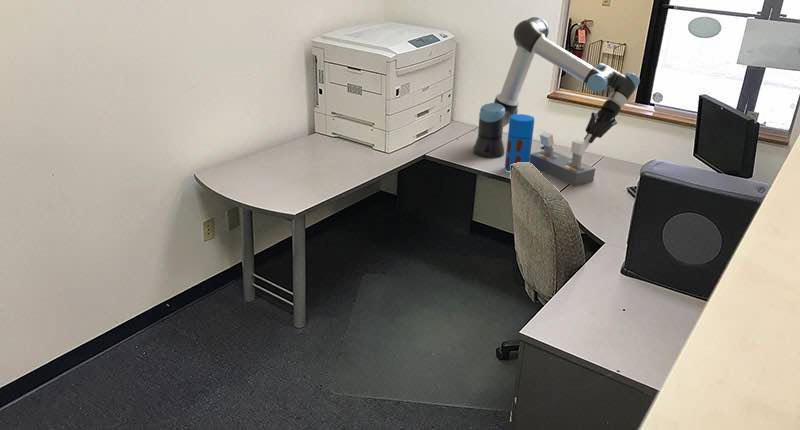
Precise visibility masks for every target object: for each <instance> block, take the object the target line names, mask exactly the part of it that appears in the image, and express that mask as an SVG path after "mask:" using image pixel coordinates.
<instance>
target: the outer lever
mask: <svg viewBox="0 0 800 430" xmlns="http://www.w3.org/2000/svg"><path fill="white" fill-rule="evenodd" d="M585 145H586V143H584V142H583V141H582V140H578V139H575V140H572V141H571V148H570V152H571V153H572V157H571V159H572V163H571V165H574V166H576V167H580V166H581V163H582V157H583V155H585V152H586V150H585Z"/></svg>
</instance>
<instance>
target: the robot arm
mask: <svg viewBox="0 0 800 430" xmlns="http://www.w3.org/2000/svg"><path fill="white" fill-rule="evenodd" d="M549 33H550V27H549V24H548V23H547V21H546V20H545V19H544V18H542V17H538V16H535V17H534V16H532V17H530V18H527V19H525V20H522V21H520V22H519V23H518V24H516V26H515V28H514V30H513V38H514V41H515V46H516V50H515V53H514V56H513V58H512V60H511V64H510V67H509V69H508V71H507V72H508V73H507V75H506V78H505V80H504V83H503V86H502V89H501V91H500V93H499V94H498V93H497V95H496V96H495V99H494V100H493V101H494V102H489V103H485V104H483V105H482V106H481V107H480V109H479V113H478V114H479V115H478V116H479V117H478V128H477V129H478V130H477V131H478V132H477V138H476V141H475V143H474V145H473V147H472V148H473V149H472V153H473V154H474V155H476V156H478V157H481V158H485V159H498V158H501V157H503V156H504V155H505V147H504V142H503V130H504V127H506V126H508V125H509V122H510V117H511V116H512V115H515V114H519V113H518V111H519V110H518V107H519V105H520V104H519V103H520V101H518V100H519V99H518V98H519V95H520V93H521V90H522V88H523V85H524V82H525V80H526V77H527V75H528V72H529V70H530V67H531V64H532V62H533V59H534V57H535V54H536V55H538V56H540V57H541V58H542V59H544V60H546V61H548V62H550V63H551V64H552V65H554V66H556V67H557V68H560V69H561V70H563V71H564V72H566V73H567V74H569V75H571V76H572V77H574V78H575V79H577V80H579V81H580V82H582V83H584V84H585V85H587V88H588V89H589V90H590V91H591V92H594V93H597V92H601V91H603V90H605V89H606V88H607V87H608V88H609V89H610V90H612V92H611V93H610V94H609V96H608V97H607V98H606V100H605V101H604V103H603V104H602V105H601V109H600V110H598V111H597V112H596V113H595V112H593V111H592V112H591V116H590V118H589V121H588V123H587V126H586V128H585V133H586V135H585V136H584V138H583V141H582V142H584V143H586V145H585V151H586V150H587V149H588V148H589V146H590V144H593V142H594V141H595V139H597V138H599V139H601V138H602V137H603V136H604V135H605V134H606V133H607V132H608V131H610V130H611V128H612V127H614V126H616V125H617V124H618V122H617V120H616V117H617V116H618V114H619V113H620V112H621V111H622V110H621V109H623V108H624V106H625V105H626V103H627V101H629V99H630V98H631V96H632V95H633V94H634V92H635V91H636V90H637V88H638V86H639V85H640V82H641V79H640V77H639V76H638V75H637V74H635V73H633V72H630V71H628V72H626V73H624V74H623V73H621V72H619V71H617V70H616V69H615V68H612V67H610V66H609V65H608V64H604V63H603V62H599V63H598V64H597V65H596V67H594V66H592V65H591V64H590V63H587V62H586V61H585V60H583V59H581V58H579V57H577V55H574V54H573V53H571V52H569V51H568V50H566V49H565V48H563V47H561V46H560V45H558V44H556V43H555V42H554V41H552V40H549V39H548V37H549Z"/></svg>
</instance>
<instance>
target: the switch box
mask: <svg viewBox="0 0 800 430" xmlns="http://www.w3.org/2000/svg"><path fill="white" fill-rule="evenodd" d="M529 162H530V163H532V164H533V165H534V166H535V167H536V168H537V169H538V170H537V169H536V170H537V171H540V172H542V173H543V174H546V175H547V176H550V177H553V178H555V179H556V180H560V181H561V182H564V183H566V184H567V185H571V186H573V187H577V186H582V185H584V184H588V183H591V182H594V179H595V174H596V168H595V167H593V166H590V165H588V164H585V163H583V162H581V166H580V167H576V166H574V165H571V163H572V157H569V156H566V155H565V154H564V155H563V154H561V153H558V152H556V151H554V150H553V155H552V156H551V157H550V156H548V155H546V154H545V152H544V149H543V150H541V151H537V152H532V153H530V161H529Z"/></svg>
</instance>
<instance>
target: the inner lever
mask: <svg viewBox="0 0 800 430" xmlns="http://www.w3.org/2000/svg"><path fill="white" fill-rule="evenodd" d="M553 135H554V134H553V133H549V132H547V131H544V130H543V132H542V133H540V134H539V138H540V144H541V145H543V150H544V152H545V154H546V155H548V156H550V157H551V156H552V155H553V151H554V150H553V145H554V144H555V142H554V136H553Z"/></svg>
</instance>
